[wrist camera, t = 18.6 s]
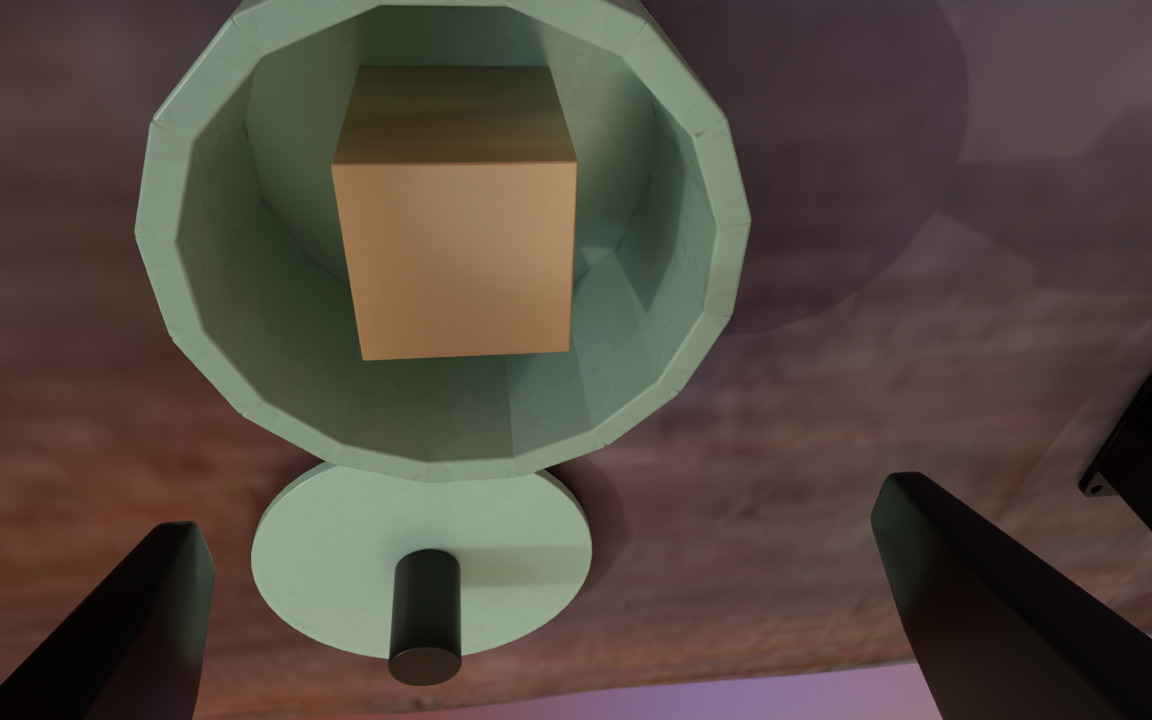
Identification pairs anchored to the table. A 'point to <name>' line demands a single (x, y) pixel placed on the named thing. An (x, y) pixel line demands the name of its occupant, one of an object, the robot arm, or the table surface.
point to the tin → (317, 257)
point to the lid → (420, 563)
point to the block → (457, 211)
